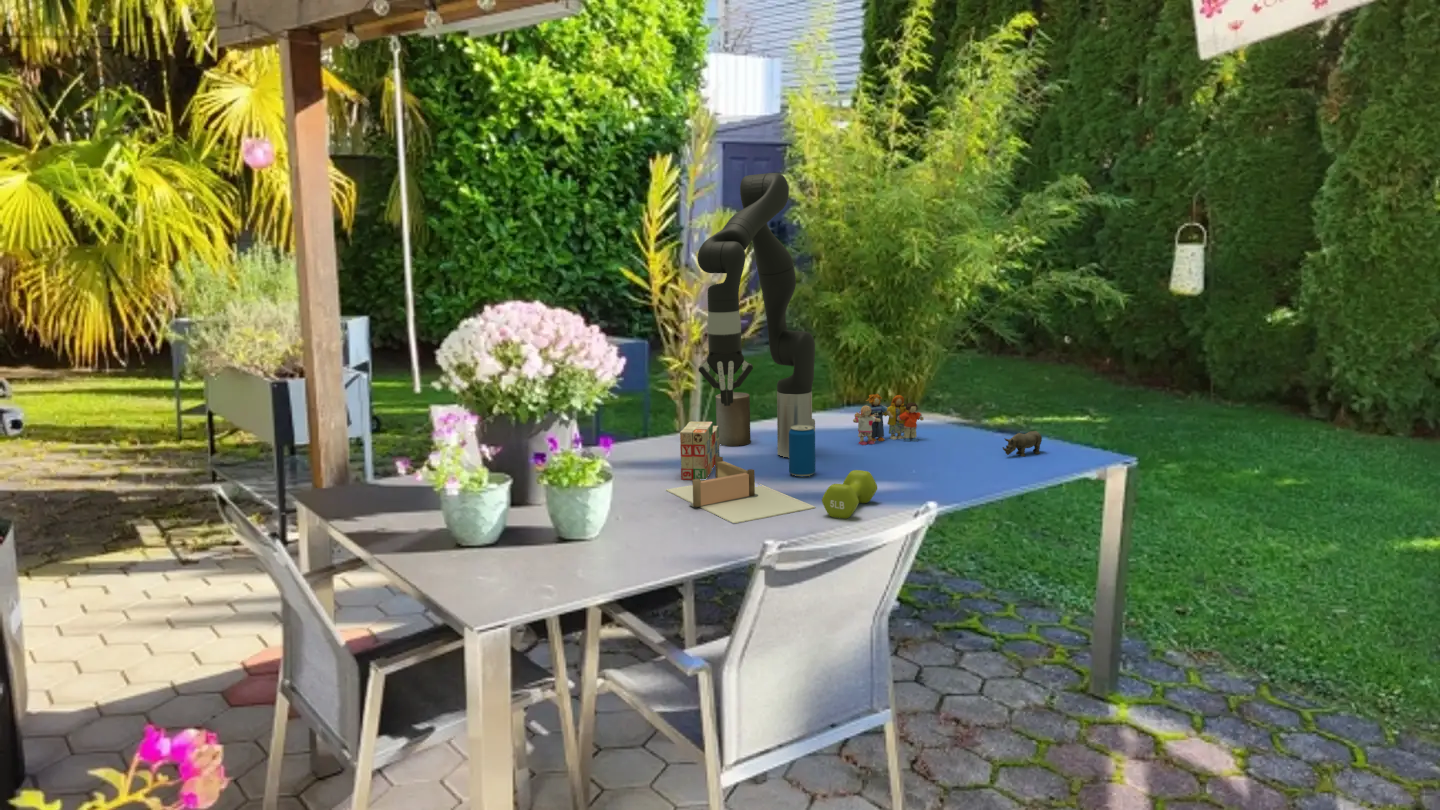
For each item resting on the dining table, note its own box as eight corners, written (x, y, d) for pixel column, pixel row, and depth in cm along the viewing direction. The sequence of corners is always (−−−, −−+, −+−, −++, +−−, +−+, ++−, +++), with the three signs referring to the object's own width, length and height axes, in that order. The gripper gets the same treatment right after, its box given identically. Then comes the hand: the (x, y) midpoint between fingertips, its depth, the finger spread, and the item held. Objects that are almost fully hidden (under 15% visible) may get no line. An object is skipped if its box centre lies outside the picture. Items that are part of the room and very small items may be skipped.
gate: (749, 496, 234) (749, 471, 233) (695, 507, 227) (695, 481, 226) (745, 494, 236) (744, 470, 235) (691, 505, 228) (691, 479, 227)
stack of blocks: (696, 459, 273) (695, 413, 270) (720, 459, 272) (719, 414, 269) (680, 480, 252) (679, 431, 249) (706, 481, 251) (705, 431, 248)
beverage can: (818, 472, 256) (818, 425, 254) (809, 479, 250) (809, 430, 248) (794, 470, 259) (794, 423, 257) (785, 476, 253) (784, 428, 251)
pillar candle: (757, 441, 292) (756, 389, 289) (739, 447, 284) (738, 394, 281) (728, 438, 297) (726, 386, 294) (709, 444, 289) (708, 392, 286)
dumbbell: (854, 522, 216) (854, 489, 215) (819, 517, 220) (819, 484, 218) (879, 502, 230) (880, 470, 229) (846, 498, 234) (846, 467, 233)
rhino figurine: (995, 456, 269) (996, 434, 268) (1034, 450, 276) (1035, 428, 274) (1007, 460, 266) (1007, 437, 264) (1045, 453, 272) (1046, 431, 271)
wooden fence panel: (720, 480, 249) (720, 456, 248) (756, 495, 235) (756, 470, 234) (714, 481, 248) (713, 457, 247) (749, 496, 235) (749, 471, 233)
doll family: (854, 446, 284) (854, 399, 281) (842, 439, 293) (842, 393, 290) (925, 440, 289) (926, 394, 286) (911, 433, 298) (912, 389, 295)
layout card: (742, 477, 252) (742, 476, 252) (815, 508, 226) (815, 506, 226) (660, 491, 241) (660, 490, 241) (726, 525, 215) (726, 523, 215)
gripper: (753, 327, 236) (755, 401, 240) (695, 329, 236) (698, 402, 240) (753, 332, 229) (756, 408, 232) (694, 334, 229) (697, 410, 233)
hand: (727, 405), depth 236 cm, fingers closed
